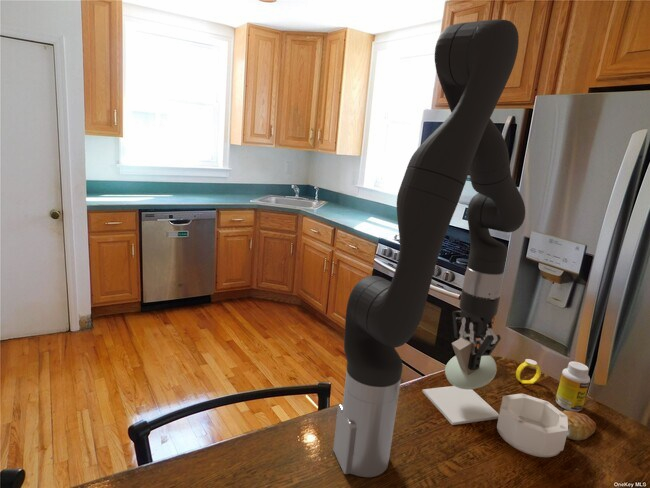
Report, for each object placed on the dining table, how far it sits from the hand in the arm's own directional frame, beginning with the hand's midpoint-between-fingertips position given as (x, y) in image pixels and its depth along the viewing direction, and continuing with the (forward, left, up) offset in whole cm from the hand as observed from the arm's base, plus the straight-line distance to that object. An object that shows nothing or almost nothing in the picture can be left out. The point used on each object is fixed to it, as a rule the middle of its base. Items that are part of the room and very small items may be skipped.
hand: (467, 364), depth 93 cm
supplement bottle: (+26, -5, -10) cm, 28 cm away
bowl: (+8, -12, -10) cm, 17 cm away
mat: (0, 0, -10) cm, 10 cm away
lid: (+1, 0, -2) cm, 2 cm away
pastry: (+19, -12, -10) cm, 25 cm away
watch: (+23, +5, -10) cm, 26 cm away
